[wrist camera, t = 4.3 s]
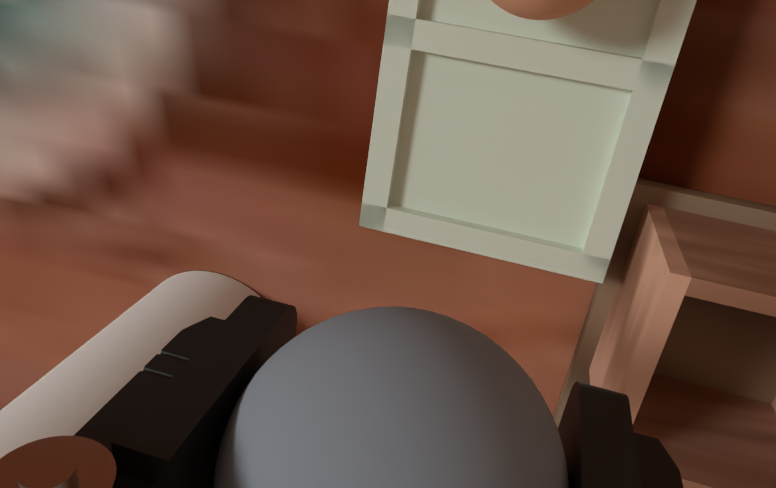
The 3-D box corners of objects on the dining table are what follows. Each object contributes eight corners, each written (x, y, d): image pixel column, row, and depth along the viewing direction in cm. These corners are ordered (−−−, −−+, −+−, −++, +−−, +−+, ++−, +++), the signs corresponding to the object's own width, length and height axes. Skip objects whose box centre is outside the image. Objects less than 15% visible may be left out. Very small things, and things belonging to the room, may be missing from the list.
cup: (309, 311, 30) (87, 614, 16) (270, 431, 34) (62, 762, 20) (157, 245, 31) (-183, 480, 17) (135, 369, 35) (-159, 647, 21)
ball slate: (305, 222, 10) (124, 409, 6) (605, 293, 9) (638, 564, 5) (286, 442, 12) (141, 695, 8) (529, 515, 11) (510, 836, 7)
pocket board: (436, -215, 21) (420, -236, 19) (739, -180, 19) (762, -198, 17) (375, 204, 27) (358, 225, 25) (599, 256, 26) (602, 283, 24)
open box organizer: (632, 176, 24) (654, 247, 18) (888, 230, 23) (1005, 326, 17) (522, 511, 32) (512, 638, 26) (708, 567, 31) (743, 716, 24)
